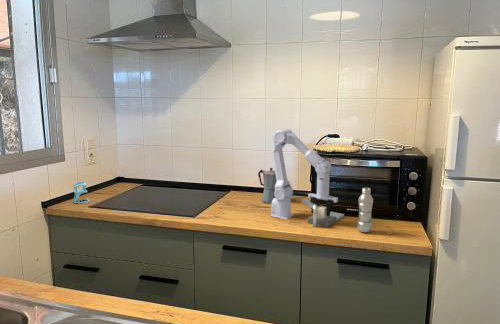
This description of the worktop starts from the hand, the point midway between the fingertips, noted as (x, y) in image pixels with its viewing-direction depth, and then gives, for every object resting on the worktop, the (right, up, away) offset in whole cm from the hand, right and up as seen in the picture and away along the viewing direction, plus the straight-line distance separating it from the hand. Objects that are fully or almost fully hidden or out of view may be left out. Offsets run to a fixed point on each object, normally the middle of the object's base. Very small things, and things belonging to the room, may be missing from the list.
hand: (322, 214), depth 181 cm
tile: (+7, -3, +9) cm, 12 cm away
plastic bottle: (+17, -6, -11) cm, 21 cm away
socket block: (0, -4, +1) cm, 4 cm away
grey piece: (-6, -4, 0) cm, 7 cm away
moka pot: (-24, +2, +39) cm, 46 cm away
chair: (-133, +1, +38) cm, 138 cm away
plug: (0, -4, +1) cm, 4 cm away
